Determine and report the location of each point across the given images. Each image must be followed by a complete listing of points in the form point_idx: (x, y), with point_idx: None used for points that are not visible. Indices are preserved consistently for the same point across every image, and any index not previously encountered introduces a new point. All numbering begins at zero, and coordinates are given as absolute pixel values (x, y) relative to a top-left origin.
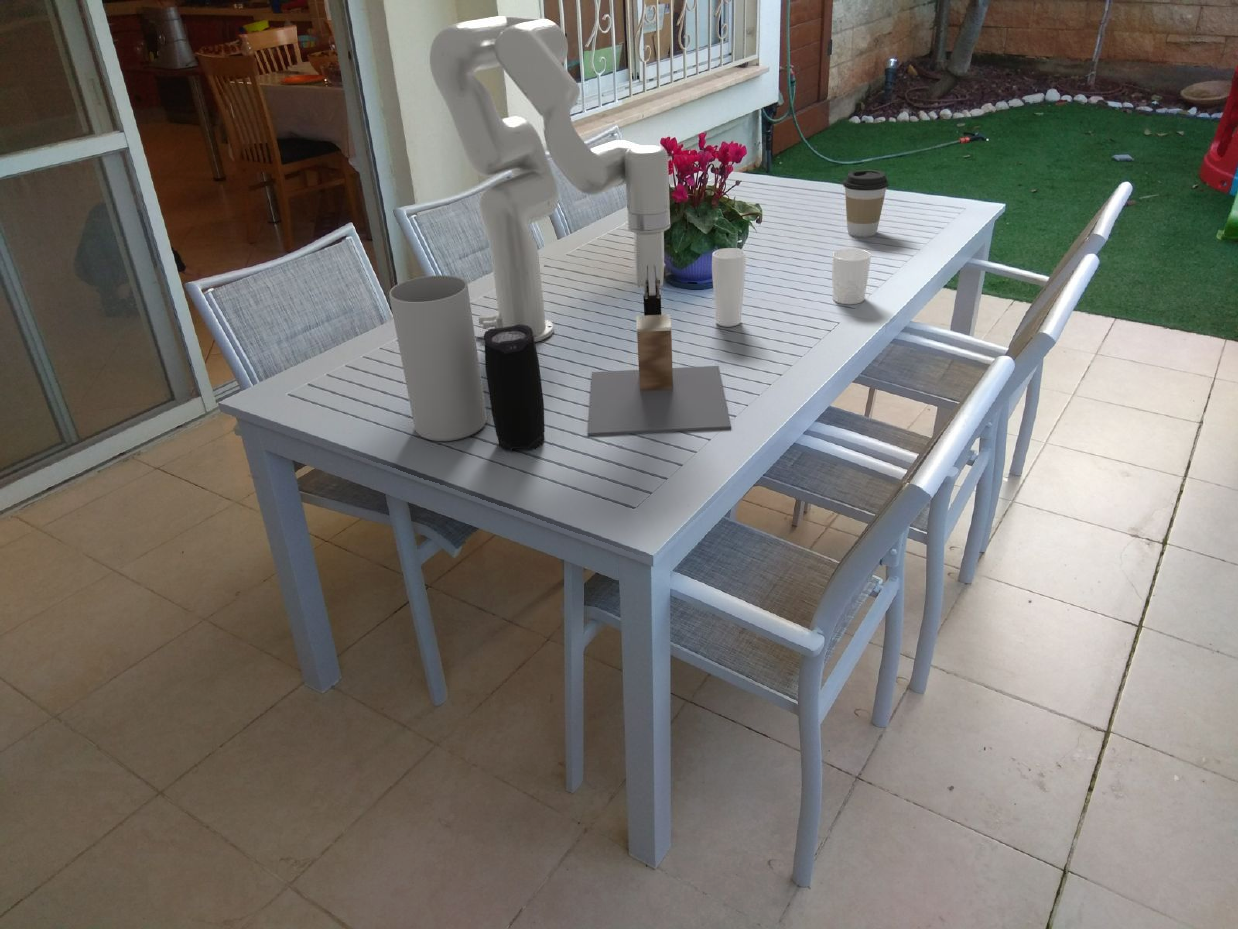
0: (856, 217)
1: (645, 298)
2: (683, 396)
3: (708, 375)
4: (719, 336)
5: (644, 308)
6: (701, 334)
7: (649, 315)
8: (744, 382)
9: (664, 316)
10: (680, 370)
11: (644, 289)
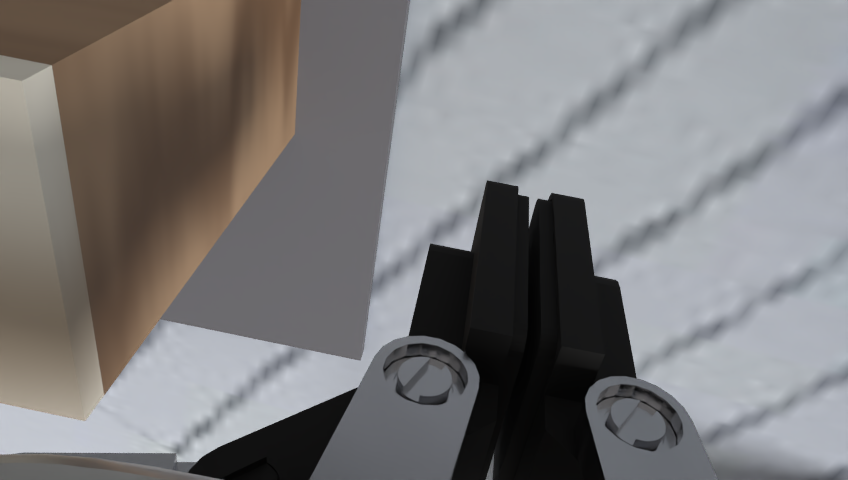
0: None
1: (384, 350)
2: None
3: (260, 294)
4: (730, 455)
5: (482, 241)
6: (809, 401)
7: (45, 241)
8: (203, 390)
9: (22, 367)
10: (343, 192)
11: (370, 465)
